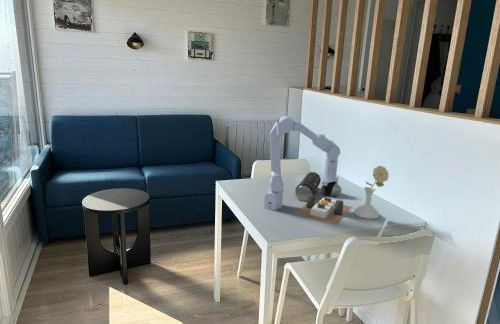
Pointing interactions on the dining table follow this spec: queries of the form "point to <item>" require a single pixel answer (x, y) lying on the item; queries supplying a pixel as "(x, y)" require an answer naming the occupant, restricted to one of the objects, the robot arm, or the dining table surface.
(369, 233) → the dining table surface
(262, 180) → the dining table surface
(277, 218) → the dining table surface
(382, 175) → the flower in vase
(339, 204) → the post
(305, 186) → the muzzle brake
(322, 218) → the breaker panel
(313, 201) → the post
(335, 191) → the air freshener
